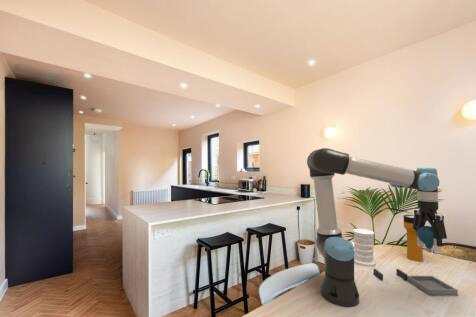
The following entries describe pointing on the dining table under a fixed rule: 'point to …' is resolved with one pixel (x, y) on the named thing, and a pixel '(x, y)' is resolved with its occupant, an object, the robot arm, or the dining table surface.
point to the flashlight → (412, 240)
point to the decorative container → (363, 247)
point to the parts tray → (432, 286)
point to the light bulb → (426, 237)
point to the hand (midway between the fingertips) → (428, 249)
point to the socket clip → (398, 272)
